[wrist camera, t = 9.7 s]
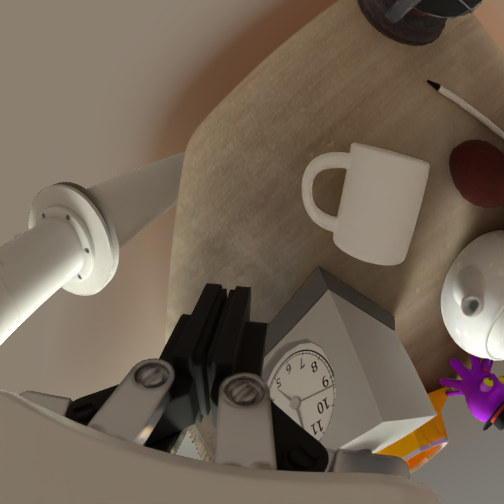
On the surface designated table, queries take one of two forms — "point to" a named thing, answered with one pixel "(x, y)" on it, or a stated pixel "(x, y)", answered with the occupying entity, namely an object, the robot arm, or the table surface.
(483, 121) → the pen
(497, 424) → the toy
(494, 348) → the teapot
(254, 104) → the table surface
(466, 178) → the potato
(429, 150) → the table surface
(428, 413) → the alarm clock
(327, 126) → the table surface
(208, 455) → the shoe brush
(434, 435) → the faceted orange bucket
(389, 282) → the table surface
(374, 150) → the mug
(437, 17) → the lantern
